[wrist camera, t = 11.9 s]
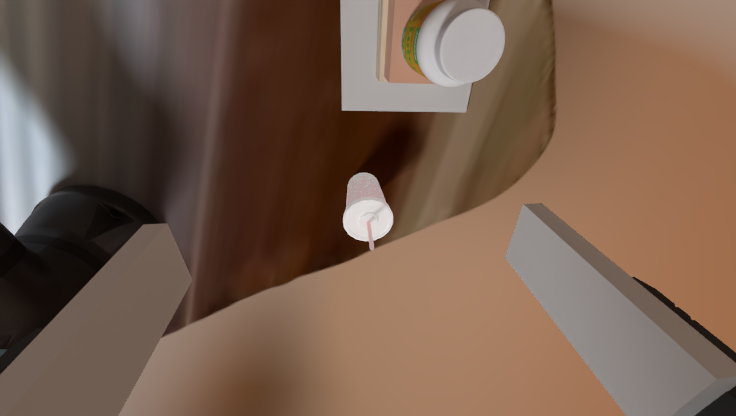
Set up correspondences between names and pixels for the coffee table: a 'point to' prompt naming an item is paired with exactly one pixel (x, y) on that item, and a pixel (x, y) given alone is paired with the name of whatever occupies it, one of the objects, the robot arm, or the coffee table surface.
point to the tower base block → (381, 40)
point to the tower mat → (361, 66)
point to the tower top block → (396, 69)
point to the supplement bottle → (453, 42)
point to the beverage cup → (366, 209)
